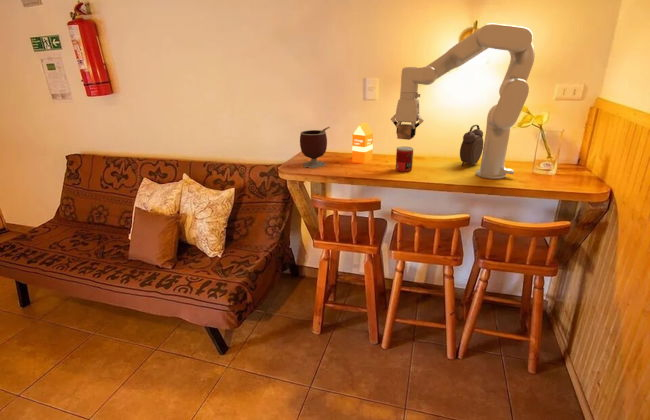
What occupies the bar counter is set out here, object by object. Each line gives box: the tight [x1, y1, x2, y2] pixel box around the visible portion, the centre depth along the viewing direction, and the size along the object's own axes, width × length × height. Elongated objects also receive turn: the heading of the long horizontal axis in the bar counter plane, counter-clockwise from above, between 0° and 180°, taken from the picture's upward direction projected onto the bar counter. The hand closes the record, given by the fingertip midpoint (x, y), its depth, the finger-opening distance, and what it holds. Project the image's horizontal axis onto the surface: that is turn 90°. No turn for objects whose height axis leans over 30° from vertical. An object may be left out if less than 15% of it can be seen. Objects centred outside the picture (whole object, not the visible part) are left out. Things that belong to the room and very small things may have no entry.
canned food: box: [395, 146, 414, 173], centre depth 170 cm, size 8×8×11 cm
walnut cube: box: [396, 123, 415, 140], centre depth 165 cm, size 6×6×6 cm
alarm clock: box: [459, 124, 484, 167], centre depth 175 cm, size 15×7×20 cm, turn 135°
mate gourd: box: [299, 126, 330, 169], centre depth 181 cm, size 16×14×20 cm
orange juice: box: [351, 121, 374, 164], centre depth 187 cm, size 8×9×20 cm
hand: (405, 136), depth 166 cm, fingers closed on walnut cube, 6 cm apart
